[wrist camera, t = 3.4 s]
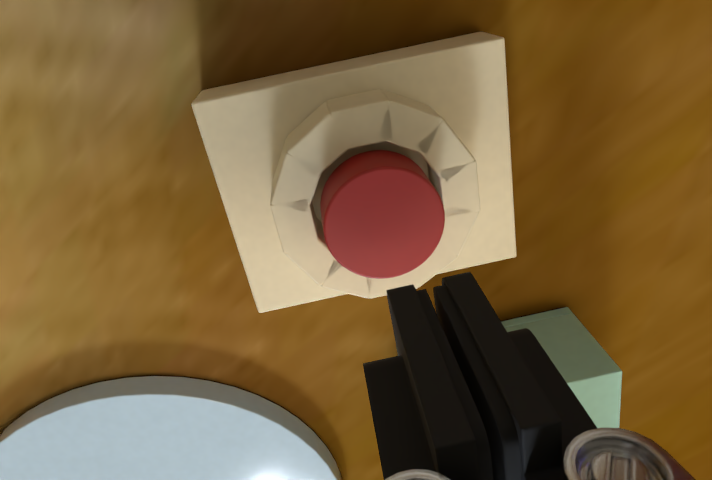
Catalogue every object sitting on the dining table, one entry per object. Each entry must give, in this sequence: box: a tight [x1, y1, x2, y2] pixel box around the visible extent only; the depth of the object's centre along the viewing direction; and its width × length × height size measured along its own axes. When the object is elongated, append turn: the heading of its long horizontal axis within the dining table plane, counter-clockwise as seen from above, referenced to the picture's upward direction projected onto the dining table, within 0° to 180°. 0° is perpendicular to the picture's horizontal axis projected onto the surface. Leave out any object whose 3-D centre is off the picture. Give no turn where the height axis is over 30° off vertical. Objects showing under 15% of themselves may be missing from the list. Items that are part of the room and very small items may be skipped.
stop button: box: [320, 150, 445, 279], centre depth 16 cm, size 4×4×2 cm
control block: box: [192, 32, 516, 313], centre depth 19 cm, size 10×8×4 cm
